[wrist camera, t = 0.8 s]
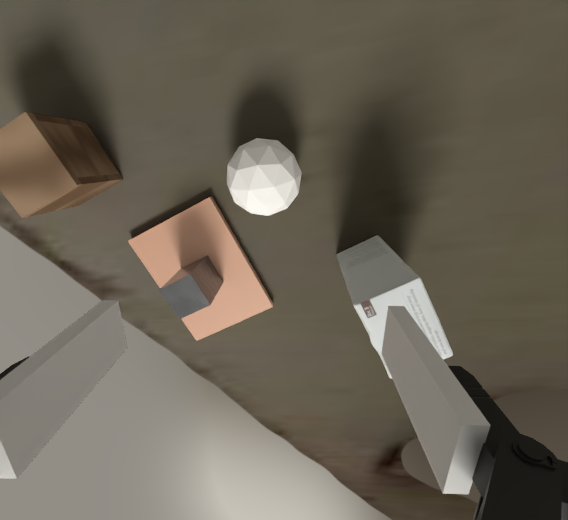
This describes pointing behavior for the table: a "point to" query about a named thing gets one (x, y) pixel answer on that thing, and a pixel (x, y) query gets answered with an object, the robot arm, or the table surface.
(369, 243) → the skincare box
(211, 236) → the base plate
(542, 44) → the table surface
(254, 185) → the ball
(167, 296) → the post
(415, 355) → the robot arm
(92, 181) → the cardboard carton
